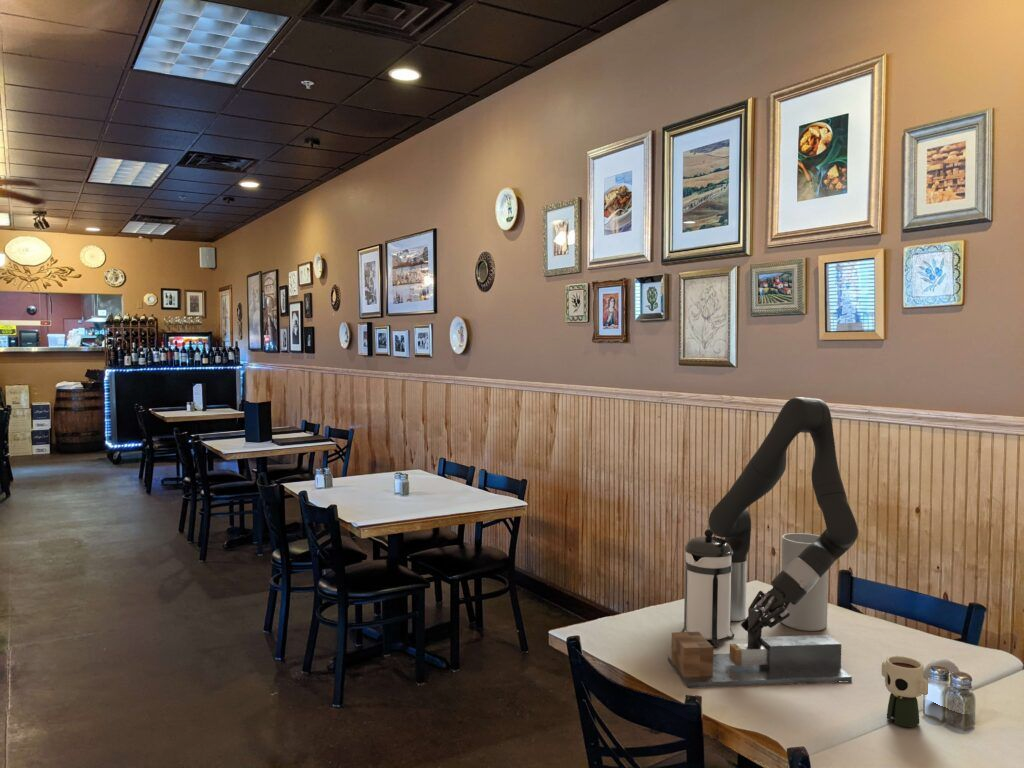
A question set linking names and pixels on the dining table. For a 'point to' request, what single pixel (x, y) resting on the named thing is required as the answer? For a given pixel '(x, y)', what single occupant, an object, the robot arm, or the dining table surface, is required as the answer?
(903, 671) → the character mug
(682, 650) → the brown wooden block
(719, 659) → the grey base with blocks
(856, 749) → the dining table surface
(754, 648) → the slider
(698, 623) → the coffee press
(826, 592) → the cylinder vase
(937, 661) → the donut
